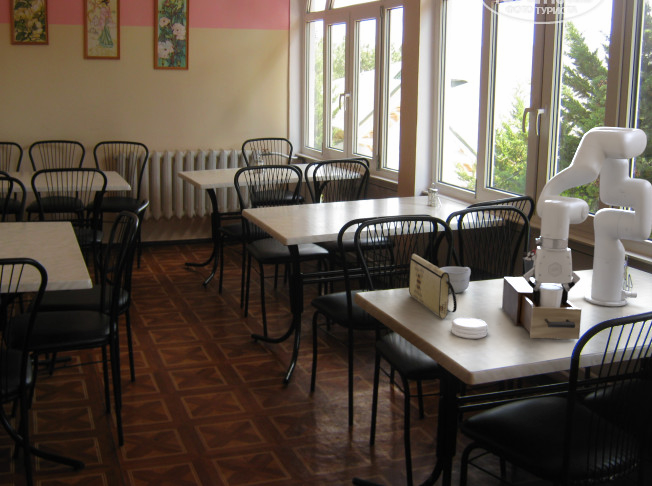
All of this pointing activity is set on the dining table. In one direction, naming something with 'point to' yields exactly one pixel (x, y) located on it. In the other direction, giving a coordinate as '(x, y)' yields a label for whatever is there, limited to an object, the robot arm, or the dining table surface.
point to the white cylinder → (550, 295)
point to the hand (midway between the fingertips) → (549, 302)
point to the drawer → (550, 319)
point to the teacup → (458, 277)
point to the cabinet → (515, 296)
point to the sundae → (529, 260)
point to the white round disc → (469, 328)
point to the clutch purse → (430, 286)
